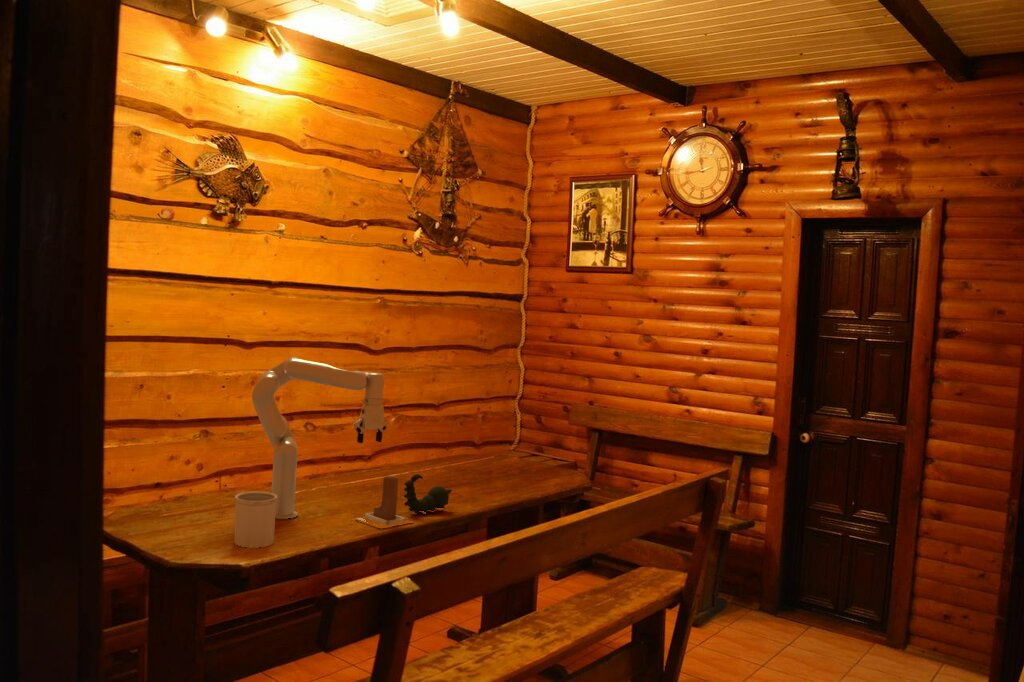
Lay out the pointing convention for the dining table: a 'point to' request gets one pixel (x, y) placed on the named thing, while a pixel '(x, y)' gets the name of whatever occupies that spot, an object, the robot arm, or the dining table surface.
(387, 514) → the wooden block
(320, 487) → the dining table surface
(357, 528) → the dining table surface
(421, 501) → the toy figurine
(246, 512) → the utensil holder
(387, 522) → the dock tray
